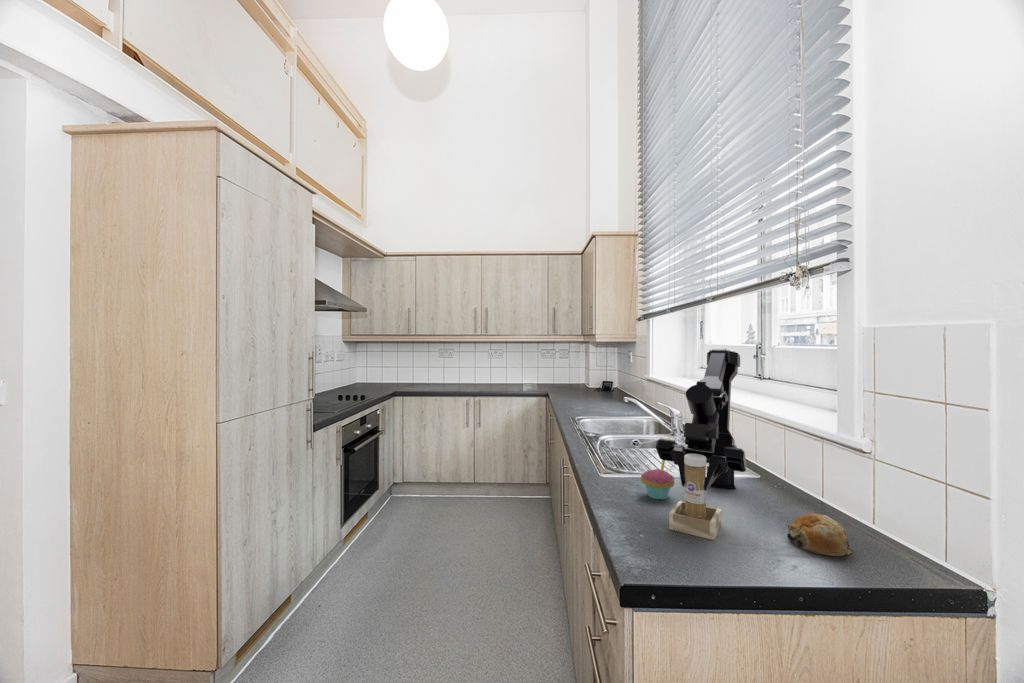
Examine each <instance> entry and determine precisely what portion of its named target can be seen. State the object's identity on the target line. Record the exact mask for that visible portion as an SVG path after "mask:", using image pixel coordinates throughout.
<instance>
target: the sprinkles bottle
mask: <svg viewBox="0 0 1024 683" xmlns="http://www.w3.org/2000/svg"><path fill="white" fill-rule="evenodd" d="M684 463H685V486H684V500H685V501H684V502H685V514H686V515H687V516H689V517H694V518H699V519H703V518H705V517H706V516H707V515H706V506H707V491H705V490H704V485H705V479H706V475H707V466H708V465H707V464H708V463H707V461H706V457H705V456H703V455H700V454H686V455H685V456H684Z"/></svg>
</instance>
